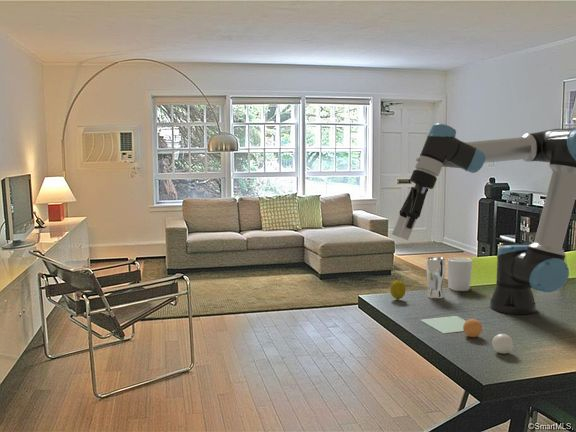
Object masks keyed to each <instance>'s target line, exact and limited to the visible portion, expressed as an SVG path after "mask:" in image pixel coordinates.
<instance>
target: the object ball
mask: <svg viewBox="0 0 576 432" xmlns="http://www.w3.org/2000/svg"><path fill="white" fill-rule="evenodd" d="M465 321H466V322H465V323H464V325H463V330H464V331H463V332H464V334H465V335H466V336H468V337H470V338H477V337H479V336H480V335H481V334H482V331H483V326H482V324H481V322H480V321H479V320H478V319H475V318H470V319H469V318H468V319H466V320H465Z"/></svg>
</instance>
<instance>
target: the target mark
mask: <svg viewBox="0 0 576 432" xmlns="http://www.w3.org/2000/svg"><path fill="white" fill-rule="evenodd" d="M419 321H421V322H422V323H424V324H426V325H427V326H429V327H431V328H433V329H434V330H436V331H438V332H439V333H441V334H444V335H445V334H451V333H452V334H453V333H461V332H464V330H463V325H464V323H465V322H466V321H467V320H465V319H463V318H462V317H460V316H457V315H452V316H444V317H443V316H442V317H433V318H423V319H419Z"/></svg>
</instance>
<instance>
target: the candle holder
mask: <svg viewBox="0 0 576 432" xmlns="http://www.w3.org/2000/svg"><path fill="white" fill-rule="evenodd" d="M473 262H474V260H473V259H471V258H468V257H462V256H461V257H460V256H459V257H458V256H454V257H448V258H447V287H448V289H449V288H451V289H452V291H456V292H457V291H458V292H467V291H469V290H470V288H471V280H472V268H473ZM451 289H450V290H451Z"/></svg>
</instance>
